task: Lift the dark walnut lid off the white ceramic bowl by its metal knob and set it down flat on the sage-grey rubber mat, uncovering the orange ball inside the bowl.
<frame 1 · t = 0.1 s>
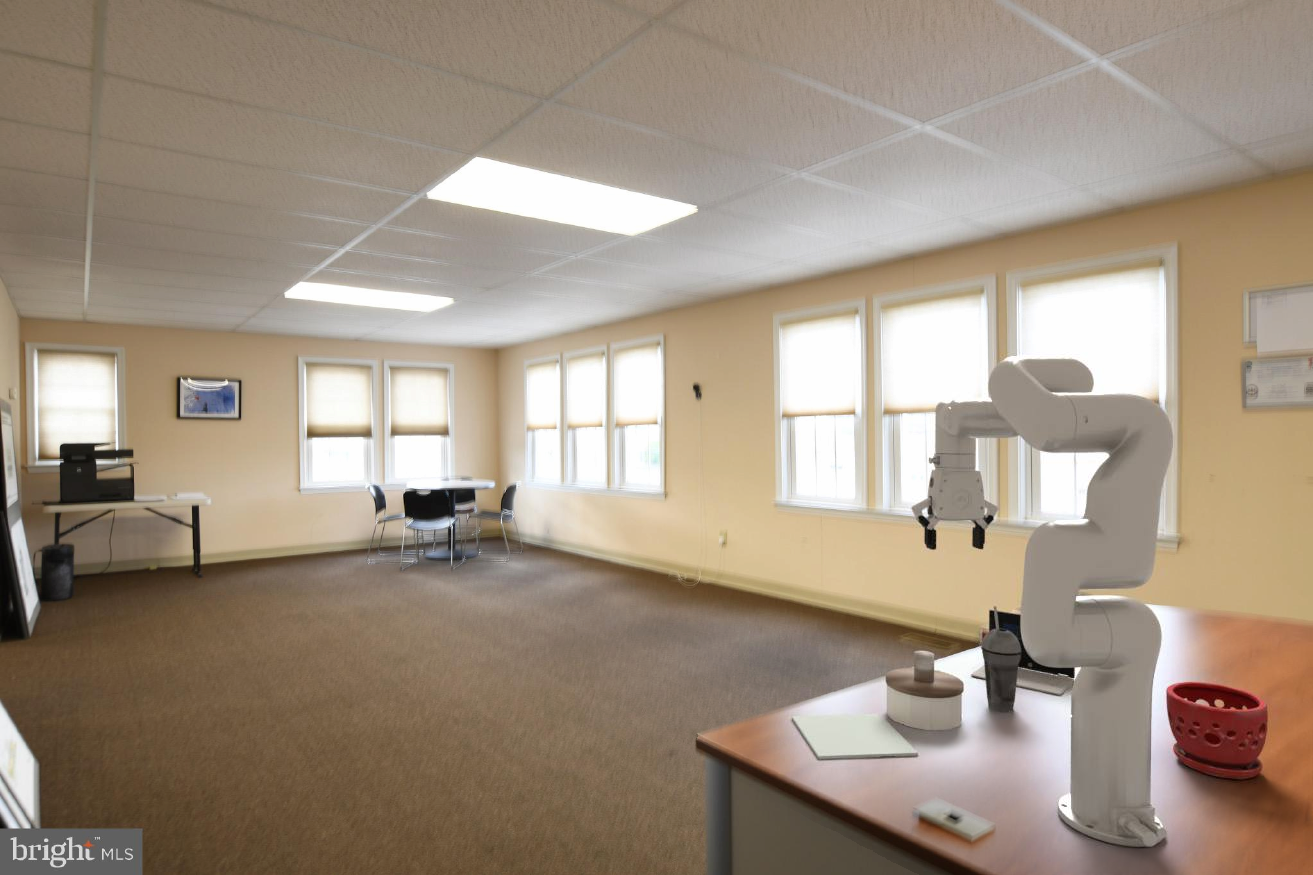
hand: (954, 548, 147), 31 cm above the table, tool pointing down, fingers open, 9 cm apart
bowl: (923, 716, 141), on the table
beverage cup: (1000, 708, 145), on the table
lid: (923, 684, 141), point 6 cm above the table, touching bowl
laptop: (1022, 680, 162), on the table
mat: (851, 736, 132), on the table
plant pot: (1214, 768, 120), on the table
ball: (923, 700, 141), point 3 cm above the table, touching bowl
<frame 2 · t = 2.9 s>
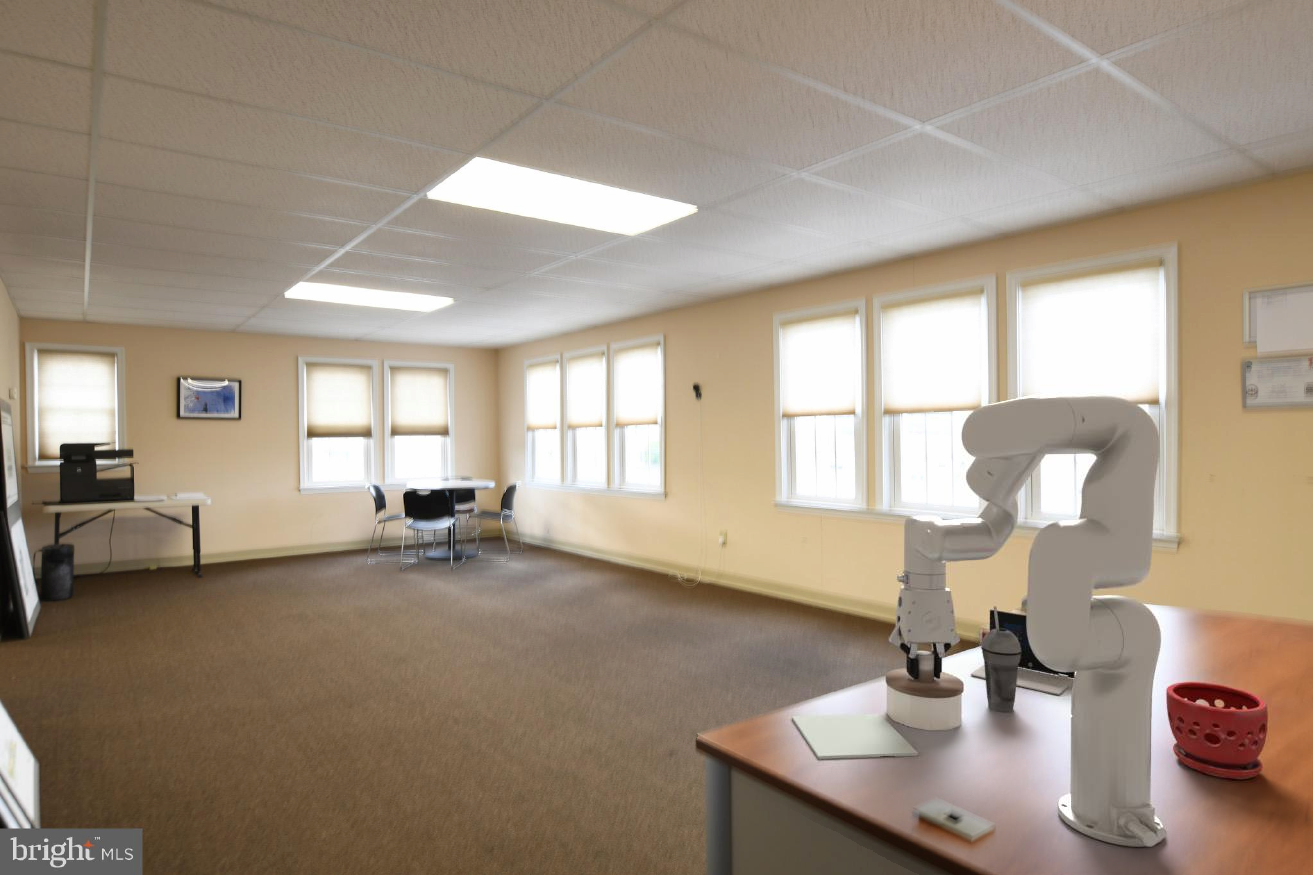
hand: (924, 675, 141), 8 cm above the table, tool pointing down, fingers closed on lid, 3 cm apart
lid: (923, 684, 141), point 6 cm above the table, touching bowl, gripper
everything else where it was.
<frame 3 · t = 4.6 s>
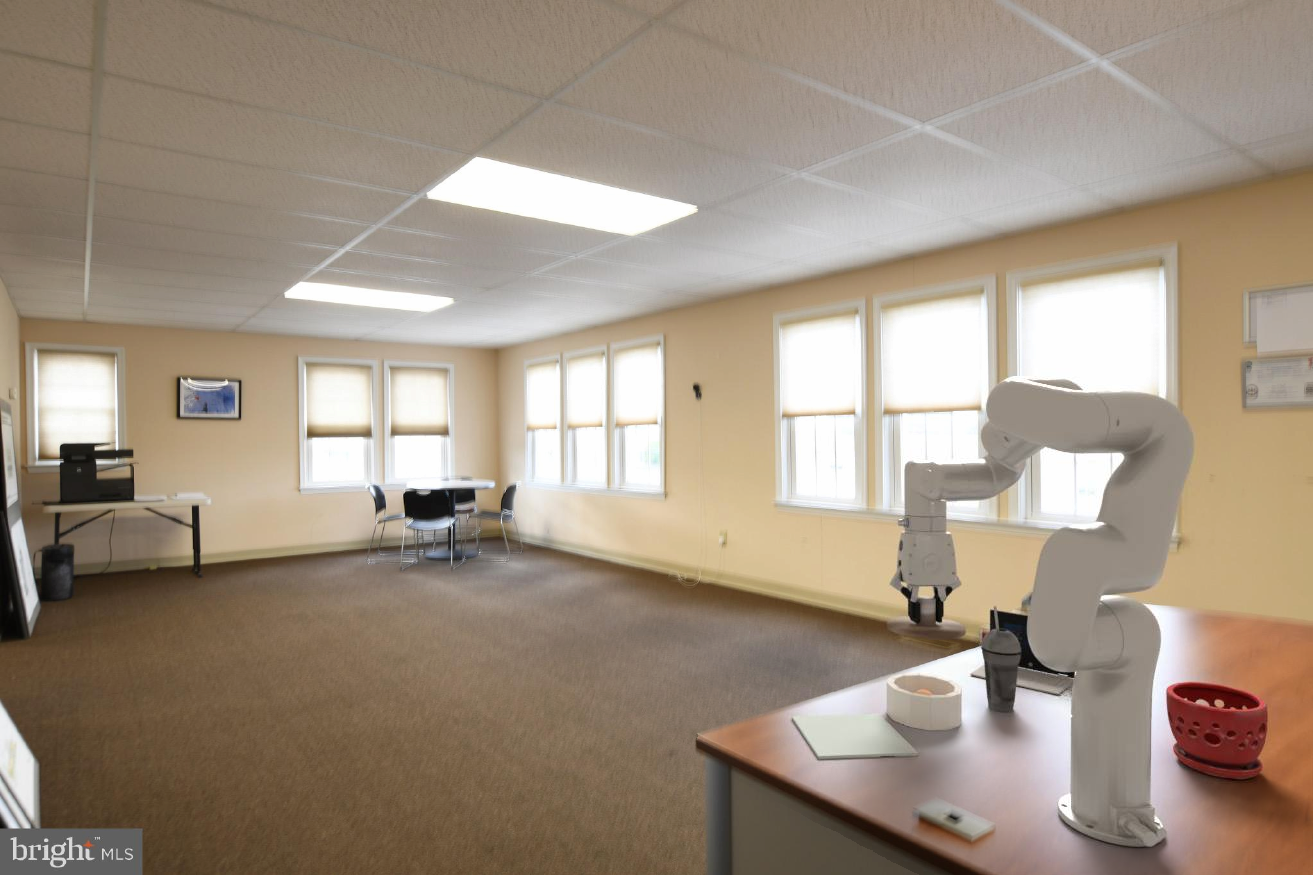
hand: (925, 620, 140), 18 cm above the table, tool pointing down, fingers closed on lid, 3 cm apart
lid: (925, 629, 140), point 17 cm above the table, touching gripper
everything else where it was.
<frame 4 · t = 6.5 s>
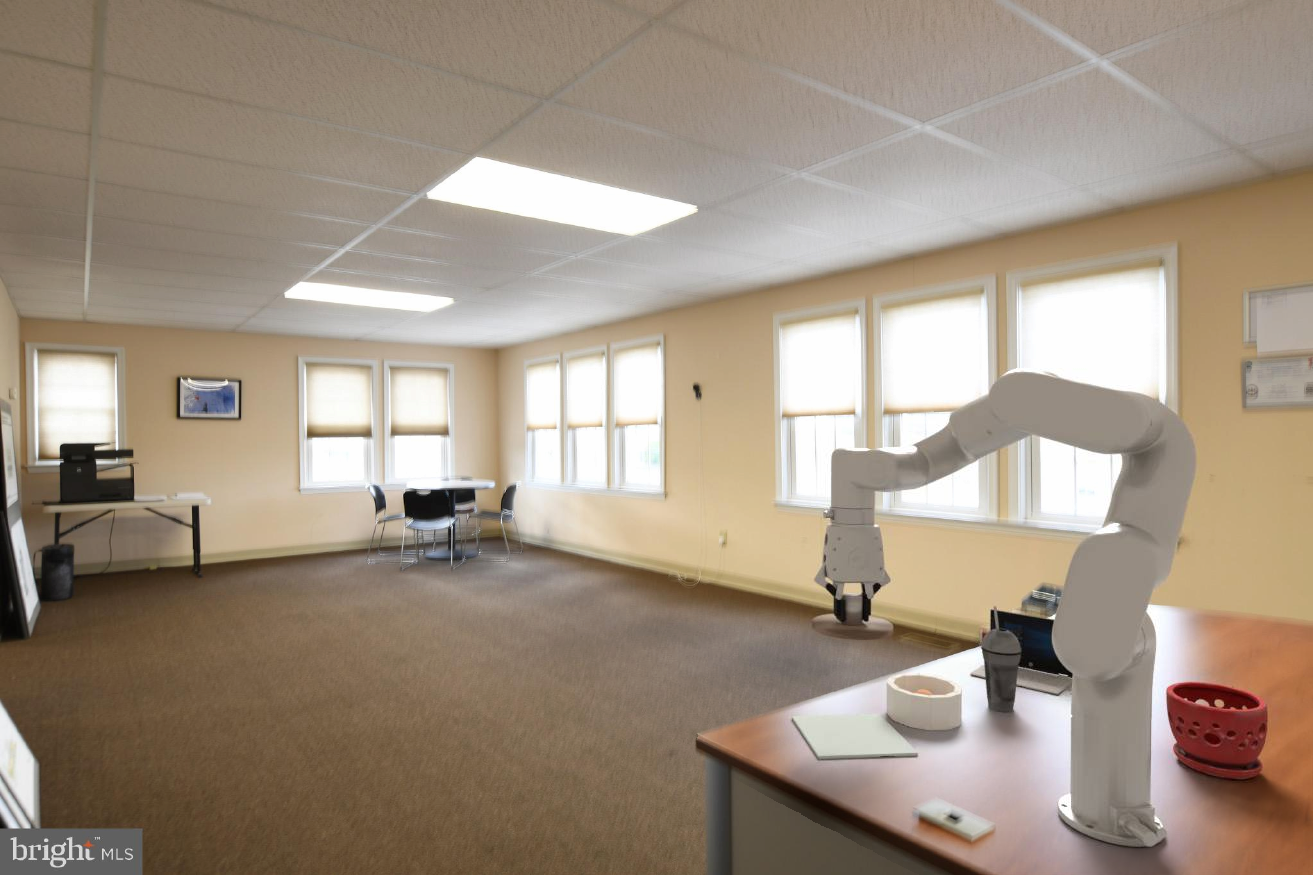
hand: (852, 618, 132), 21 cm above the table, tool pointing down, fingers closed on lid, 3 cm apart
lid: (852, 628, 132), point 19 cm above the table, touching gripper
everything else where it was.
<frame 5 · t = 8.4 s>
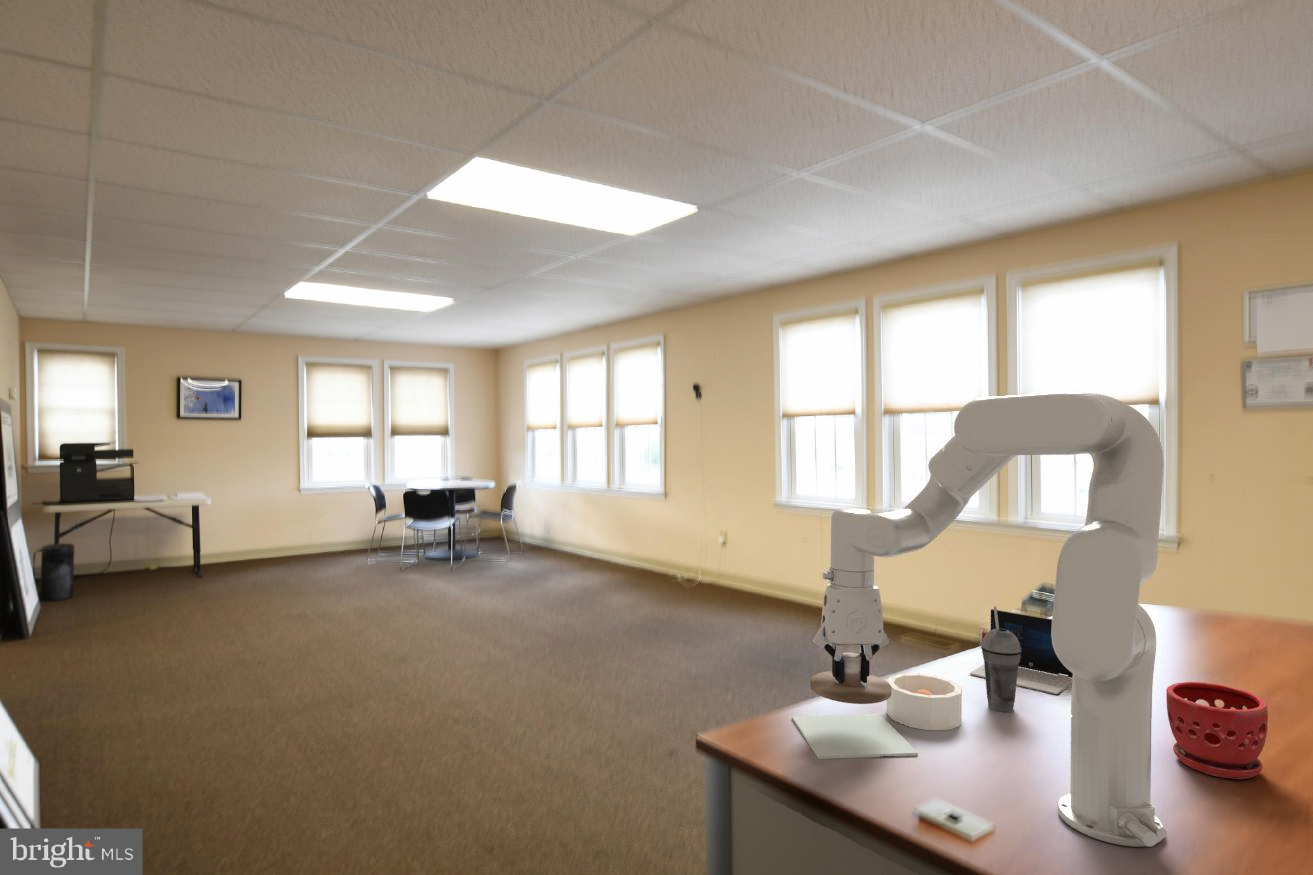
hand: (850, 679, 132), 10 cm above the table, tool pointing down, fingers closed on lid, 3 cm apart
lid: (850, 689, 132), point 8 cm above the table, touching gripper
everything else where it was.
when the fingers open (4 cm above the table, at t = 10.0 s): lid drops 1 cm, resting on mat.
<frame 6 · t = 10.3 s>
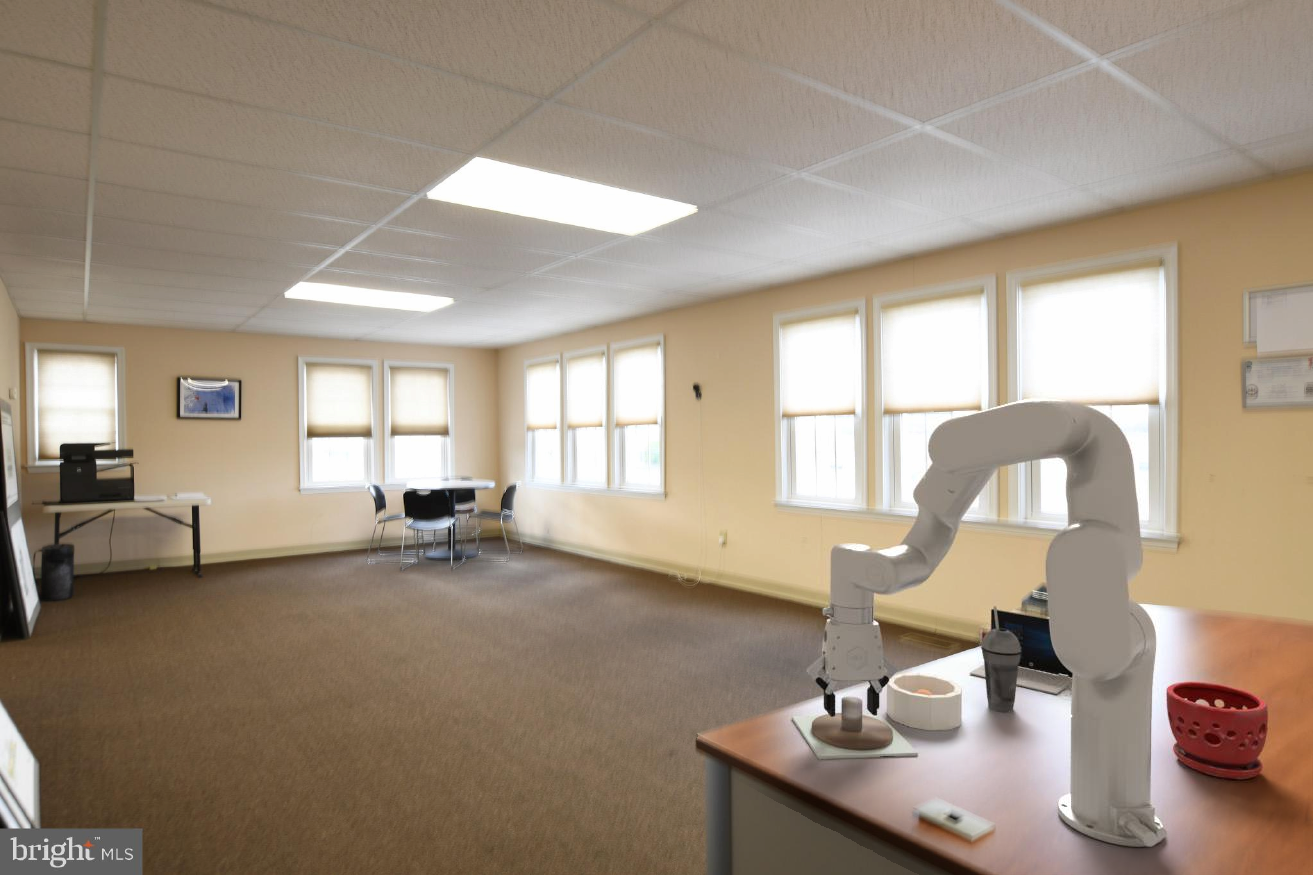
hand: (851, 712, 132), 4 cm above the table, tool pointing down, fingers open, 7 cm apart
lid: (851, 733, 132), resting on mat
everything else where it was.
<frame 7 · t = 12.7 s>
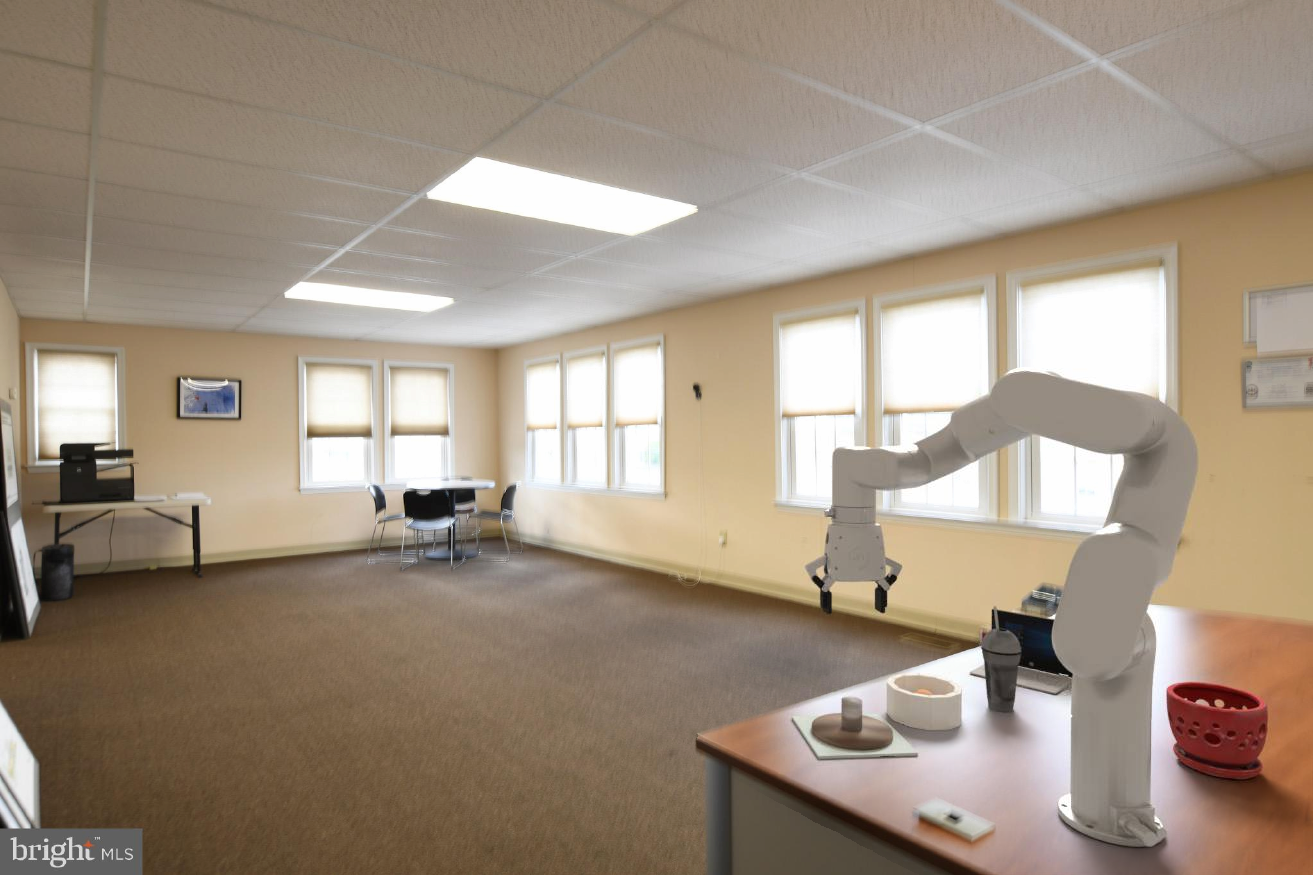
hand: (853, 611, 131), 22 cm above the table, tool pointing down, fingers open, 9 cm apart
nothing on the table moved.
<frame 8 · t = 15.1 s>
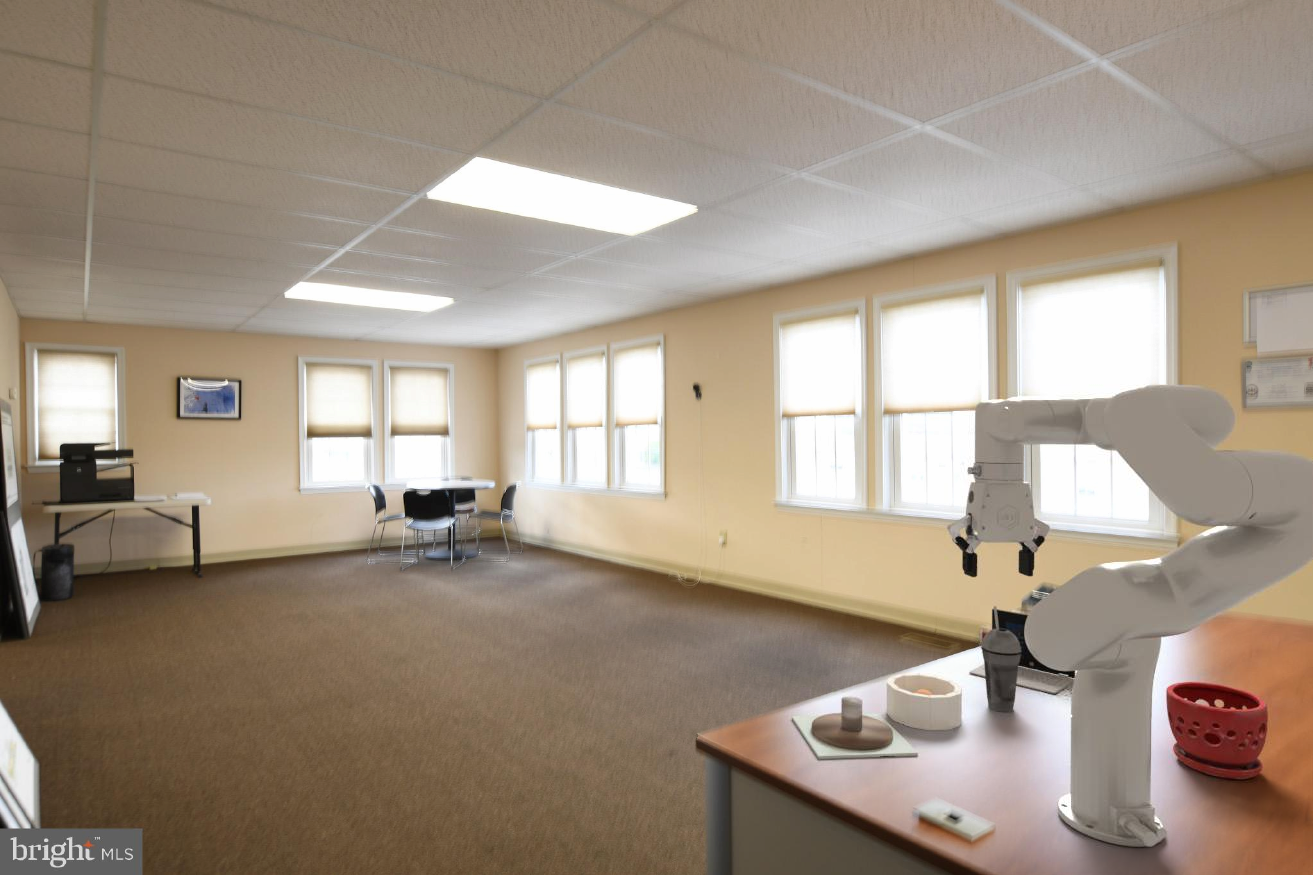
hand: (998, 575, 124), 30 cm above the table, tool pointing down, fingers open, 9 cm apart
nothing on the table moved.
at the end: lid inside the target area on the mat (0.1 cm from its centre), point 0.5 cm above the mat's base; lid tilted 0°; the gripper is holding nothing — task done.
